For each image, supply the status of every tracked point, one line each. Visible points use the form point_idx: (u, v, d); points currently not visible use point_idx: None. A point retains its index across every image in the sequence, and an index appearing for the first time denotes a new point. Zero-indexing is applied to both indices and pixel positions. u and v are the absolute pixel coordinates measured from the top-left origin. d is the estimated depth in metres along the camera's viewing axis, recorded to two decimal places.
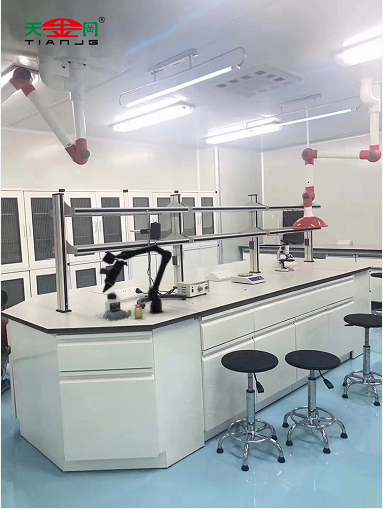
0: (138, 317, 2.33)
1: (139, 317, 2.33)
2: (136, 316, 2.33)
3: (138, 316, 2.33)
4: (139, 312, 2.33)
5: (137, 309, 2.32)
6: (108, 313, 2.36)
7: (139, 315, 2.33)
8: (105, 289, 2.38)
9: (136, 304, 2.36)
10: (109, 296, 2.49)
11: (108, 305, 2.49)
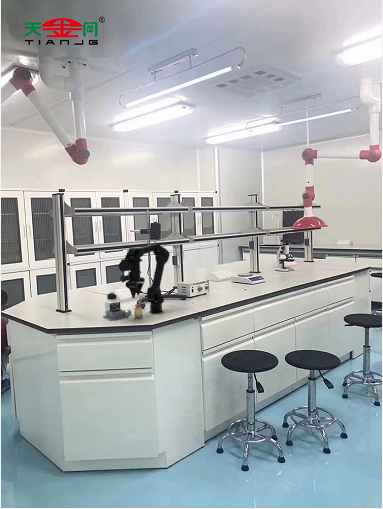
0: (138, 317, 2.33)
1: (139, 317, 2.33)
2: (136, 316, 2.33)
3: (138, 316, 2.33)
4: (139, 312, 2.33)
5: (137, 309, 2.32)
6: (108, 313, 2.36)
7: (139, 315, 2.33)
8: (133, 294, 2.28)
9: (136, 304, 2.36)
10: (109, 296, 2.49)
11: (108, 305, 2.49)
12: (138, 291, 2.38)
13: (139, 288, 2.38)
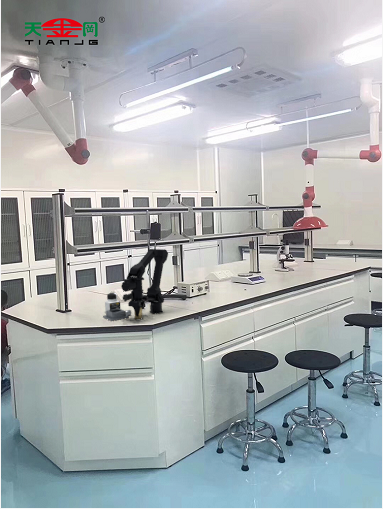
0: (138, 317, 2.33)
1: (139, 317, 2.33)
2: (136, 316, 2.33)
3: (138, 316, 2.33)
4: (139, 312, 2.33)
5: None
6: (108, 313, 2.36)
7: (139, 315, 2.33)
8: (137, 312, 2.31)
9: None
10: (109, 296, 2.49)
11: (108, 305, 2.49)
12: None
13: (140, 307, 2.37)
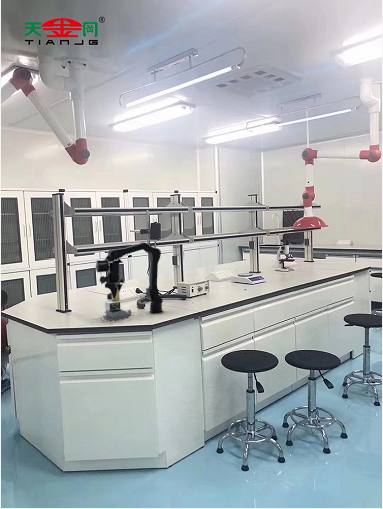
0: (115, 299, 2.35)
1: (116, 299, 2.35)
2: (113, 298, 2.35)
3: (115, 298, 2.35)
4: (116, 294, 2.35)
5: None
6: (108, 313, 2.36)
7: (116, 297, 2.35)
8: (114, 294, 2.33)
9: None
10: (109, 296, 2.49)
11: (108, 305, 2.49)
12: None
13: None
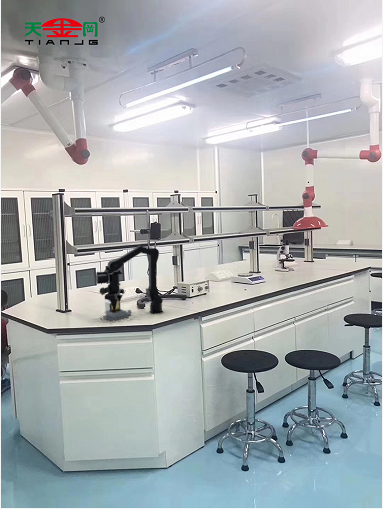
0: (115, 310, 2.36)
1: (116, 310, 2.36)
2: (113, 309, 2.36)
3: (115, 309, 2.36)
4: (116, 305, 2.36)
5: None
6: (108, 313, 2.36)
7: (116, 308, 2.36)
8: (113, 305, 2.34)
9: None
10: None
11: (108, 305, 2.49)
12: None
13: None
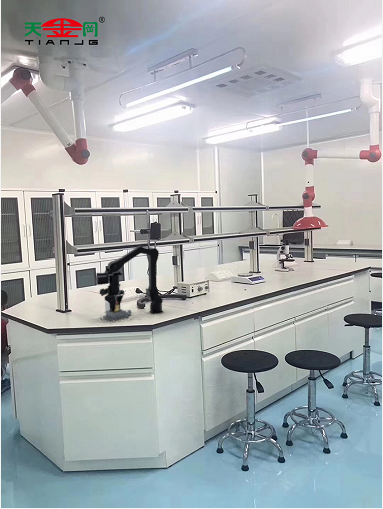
0: None
1: None
2: None
3: None
4: (116, 309, 2.36)
5: None
6: (108, 313, 2.36)
7: None
8: (112, 307, 2.33)
9: None
10: None
11: (108, 305, 2.49)
12: None
13: (119, 301, 2.42)
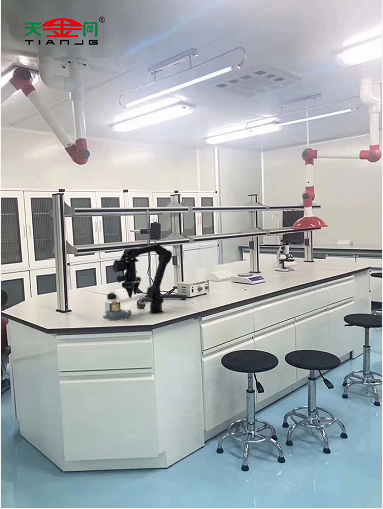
0: None
1: None
2: None
3: None
4: (116, 309, 2.36)
5: (114, 306, 2.36)
6: (108, 313, 2.36)
7: None
8: (129, 294, 2.33)
9: None
10: (109, 296, 2.49)
11: (108, 305, 2.49)
12: (135, 290, 2.42)
13: (136, 287, 2.42)
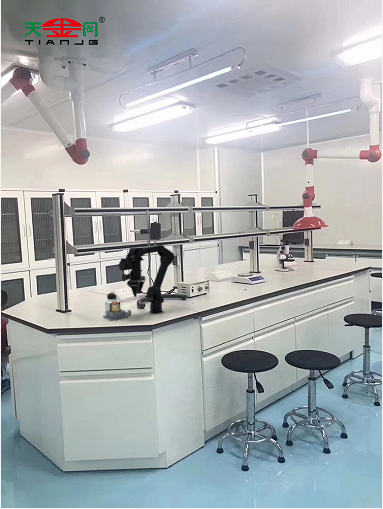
0: None
1: None
2: None
3: None
4: (116, 309, 2.36)
5: (114, 306, 2.36)
6: (108, 313, 2.36)
7: None
8: (134, 292, 2.33)
9: None
10: (109, 296, 2.49)
11: (108, 305, 2.49)
12: (139, 289, 2.42)
13: (140, 286, 2.42)
